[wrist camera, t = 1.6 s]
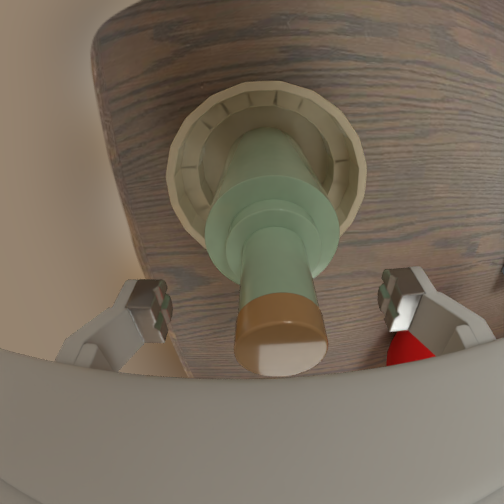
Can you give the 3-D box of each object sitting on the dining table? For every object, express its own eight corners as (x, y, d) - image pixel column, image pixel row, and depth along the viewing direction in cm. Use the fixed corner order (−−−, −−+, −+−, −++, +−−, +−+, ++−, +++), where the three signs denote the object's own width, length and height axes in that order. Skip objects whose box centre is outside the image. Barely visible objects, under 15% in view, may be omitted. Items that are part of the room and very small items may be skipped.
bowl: (173, 89, 19) (152, 94, 15) (347, 81, 19) (371, 84, 15) (195, 236, 27) (185, 270, 23) (340, 230, 26) (355, 262, 22)
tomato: (417, 273, 33) (386, 339, 41) (397, 344, 24) (358, 405, 32) (497, 306, 27) (453, 367, 35) (498, 384, 18) (437, 436, 26)
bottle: (223, 129, 20) (148, 275, 6) (304, 126, 20) (408, 263, 6) (230, 201, 24) (198, 400, 10) (304, 198, 24) (360, 392, 10)
